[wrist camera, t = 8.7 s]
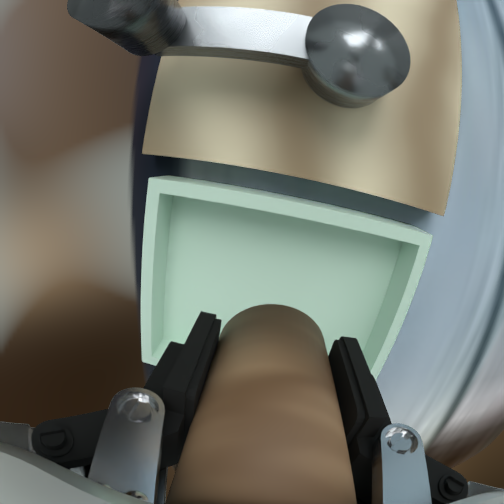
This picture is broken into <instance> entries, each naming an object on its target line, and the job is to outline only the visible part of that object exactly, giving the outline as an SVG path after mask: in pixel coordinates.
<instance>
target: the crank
mask: <svg viewBox="0 0 504 504" xmlns="http://www.w3.org/2000/svg"><path fill="white" fill-rule="evenodd" d="M67 9H68V12H69V14H70V16H71V17H73V18H75V19H76V20H78V21H80V22H82V23H83V24H85V25H87V26H88V27H90V28H92V29H93V30H95V31H97V32H98V33H100V34H102V35H103V36H105V37H107V38H108V39H110V40H111V41H113V42H114V43H116V44H118V45H119V46H121V47H122V48H124V49H125V50H127V51H128V52H130V53H132V54H134V55H138V56H147V55H152V54H155V55H157V56H201V57H220V58H232V59H242V60H251V61H259V62H267V63H273V64H280V65H286V66H291V67H296V68H301V70H302V74H303V77H304V79H305V81H306V83H307V84H308V85H309V87H310V88H311V89H312V90H313V92H315V93H316V94H317V95H318V96H319V97H321V98H322V99H323V100H325V101H327V102H329V103H331V104H333V105H336V106H339V107H344V108H360V107H364V106H367V105H369V104H371V103H373V102H375V101H376V100H378V99H380V98H381V97H383V96H384V95H386V94H388V93H389V92H391V91H393V90H394V89H396V88H397V87H399V86H400V85H401V84H402V83H403V82H404V80H405V79H406V77H407V75H408V73H409V70H410V64H411V60H410V52H409V48H408V45H407V43H406V41H405V39H404V37H403V35H402V34H401V33H400V31H399V30H398V29H397V27H396V26H395V25H394V24H393V23H392V22H391V21H389V20H388V19H387V18H386V17H384V16H383V15H381V14H380V13H378V12H376V11H374V10H372V9H369V8H367V7H364V6H360V5H355V4H336V5H332V6H329V7H326V8H324V9H322V10H321V11H319V12H318V13H317V14H316V15H315V16H314V17H310V16H305V15H299V14H293V13H287V12H280V11H273V10H264V9H254V8H242V7H221V6H192V7H181V6H180V4H179V3H178V2H177V0H68V4H67Z"/></svg>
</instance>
